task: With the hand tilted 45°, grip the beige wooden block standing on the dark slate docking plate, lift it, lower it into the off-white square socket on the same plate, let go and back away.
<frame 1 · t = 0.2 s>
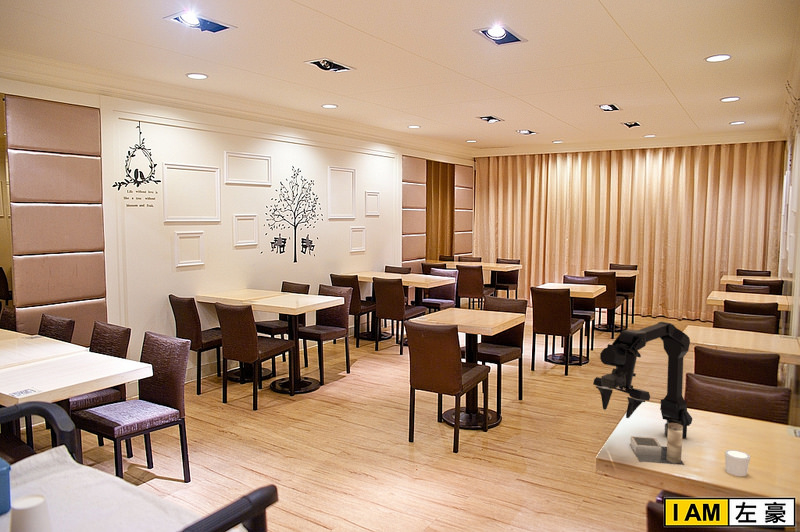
hand: (615, 413, 188), 16 cm above the table, tool pointing down, fingers open, 9 cm apart
beige wooden block: (673, 460, 185), point 1 cm above the table, touching dock plate
dock plate: (655, 456, 190), on the table
white cylinder: (736, 475, 177), on the table
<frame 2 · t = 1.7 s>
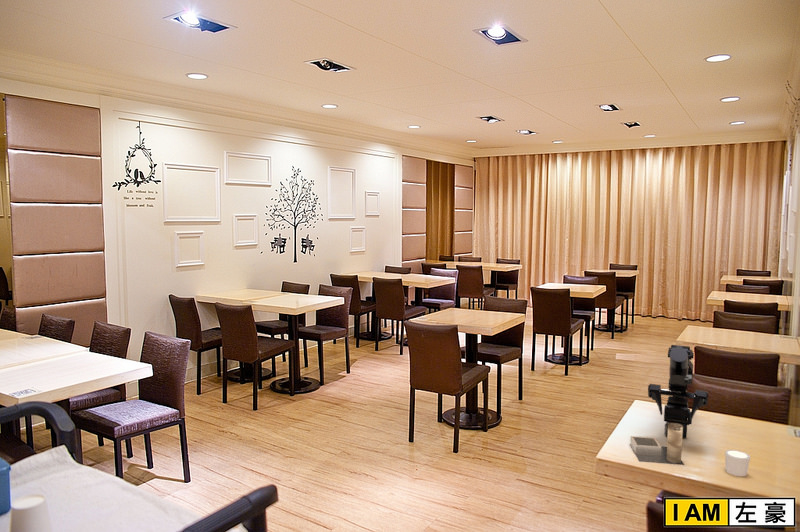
hand: (676, 416, 191), 13 cm above the table, tool tilted 45°, fingers open, 9 cm apart
nothing on the table moved.
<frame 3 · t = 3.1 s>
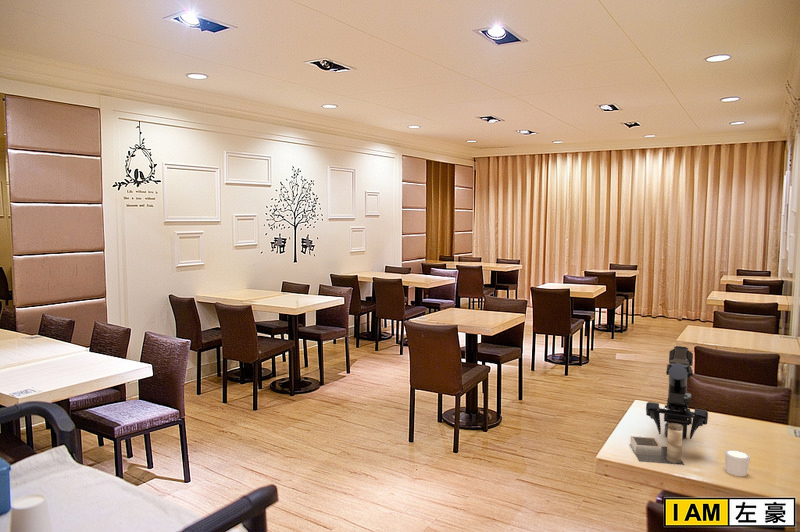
hand: (674, 436, 185), 9 cm above the table, tool tilted 45°, fingers open, 9 cm apart
nothing on the table moved.
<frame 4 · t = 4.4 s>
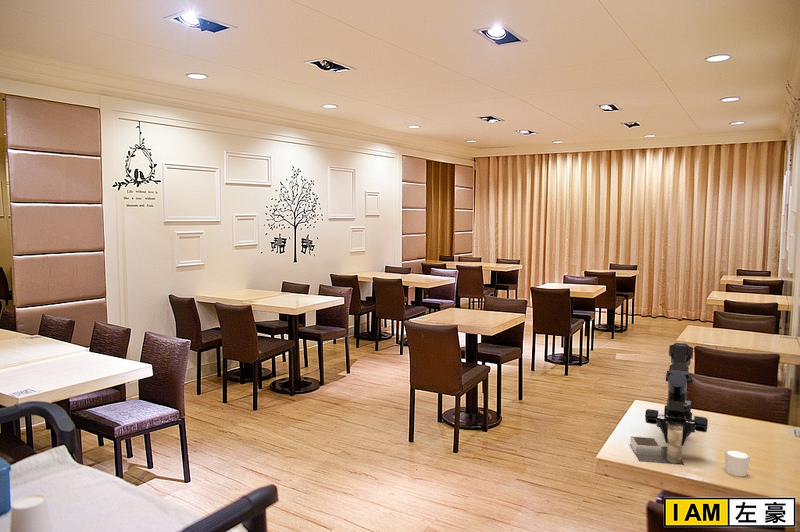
hand: (674, 444, 183), 7 cm above the table, tool tilted 45°, fingers closed on beige wooden block, 4 cm apart
beige wooden block: (673, 460, 185), point 1 cm above the table, touching dock plate, gripper
everything else where it was.
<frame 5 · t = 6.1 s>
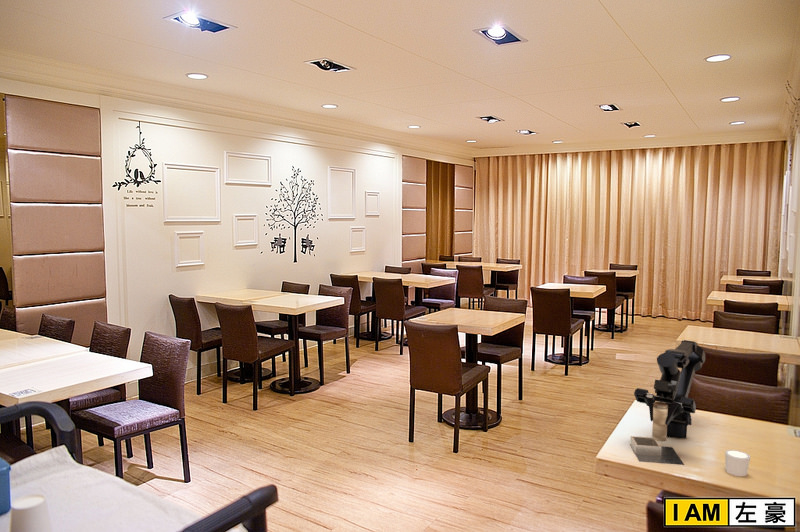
hand: (658, 422, 187), 13 cm above the table, tool tilted 45°, fingers closed on beige wooden block, 4 cm apart
beige wooden block: (659, 438, 188), point 7 cm above the table, touching gripper
everything else where it was.
when the fingers open (8 cm above the table, at t = 8.0 s): beige wooden block stays where it is, resting on dock plate.
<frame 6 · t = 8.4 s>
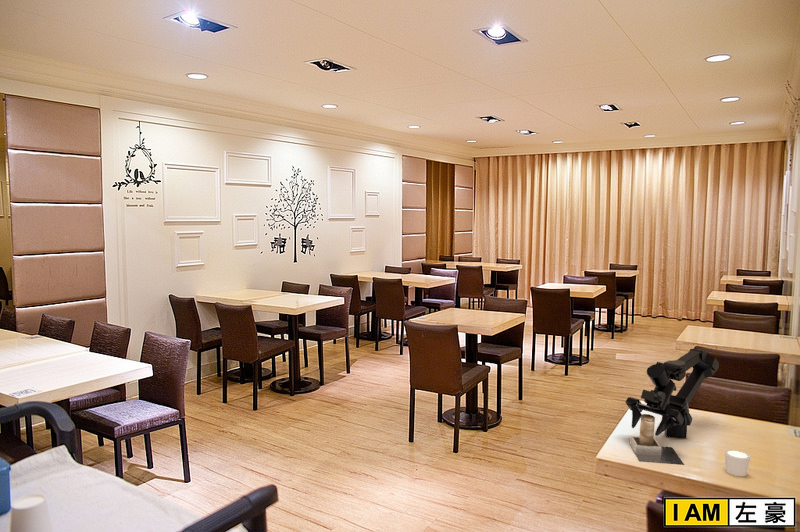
hand: (644, 431, 192), 8 cm above the table, tool tilted 45°, fingers open, 8 cm apart
beige wooden block: (645, 449, 193), point 1 cm above the table, touching dock plate
everything else where it was.
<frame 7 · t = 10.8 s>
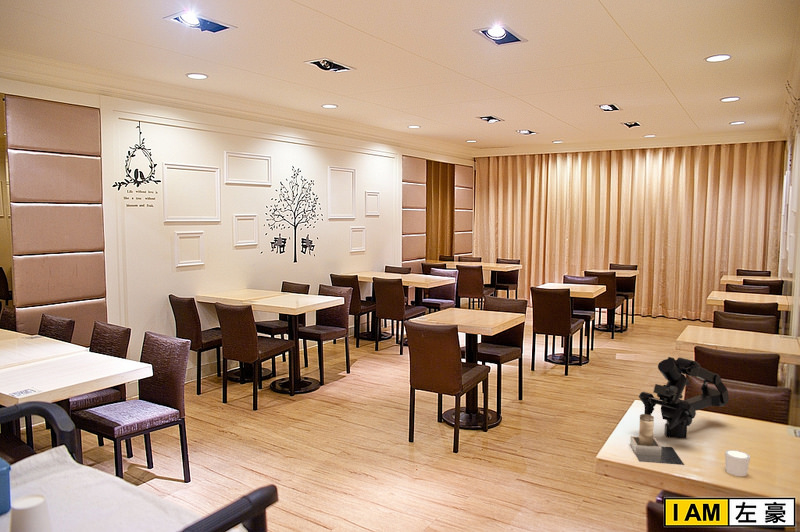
hand: (657, 424, 197), 8 cm above the table, tool tilted 45°, fingers open, 9 cm apart
nothing on the table moved.
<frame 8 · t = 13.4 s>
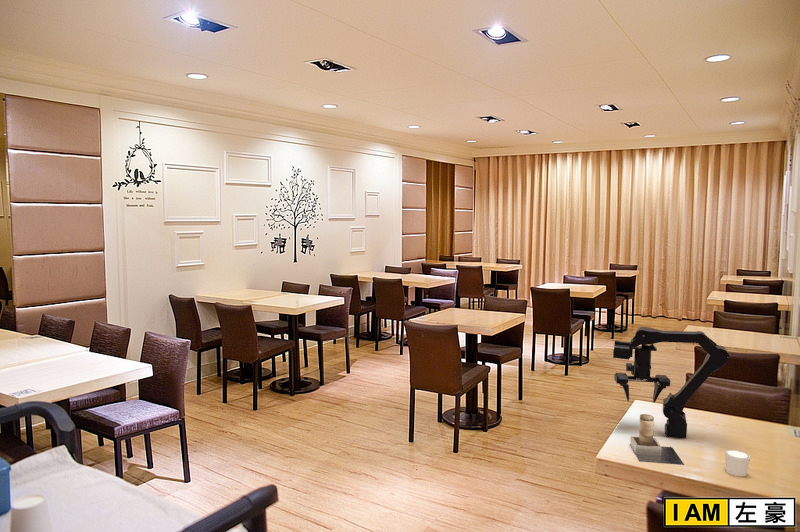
hand: (640, 401, 210), 12 cm above the table, tool pointing down, fingers open, 9 cm apart
nothing on the table moved.
at the end: beige wooden block 0.1 cm from the target spot on the dock plate, point 1.0 cm above the dock plate's base; beige wooden block tilted 0°; the gripper is holding nothing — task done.
